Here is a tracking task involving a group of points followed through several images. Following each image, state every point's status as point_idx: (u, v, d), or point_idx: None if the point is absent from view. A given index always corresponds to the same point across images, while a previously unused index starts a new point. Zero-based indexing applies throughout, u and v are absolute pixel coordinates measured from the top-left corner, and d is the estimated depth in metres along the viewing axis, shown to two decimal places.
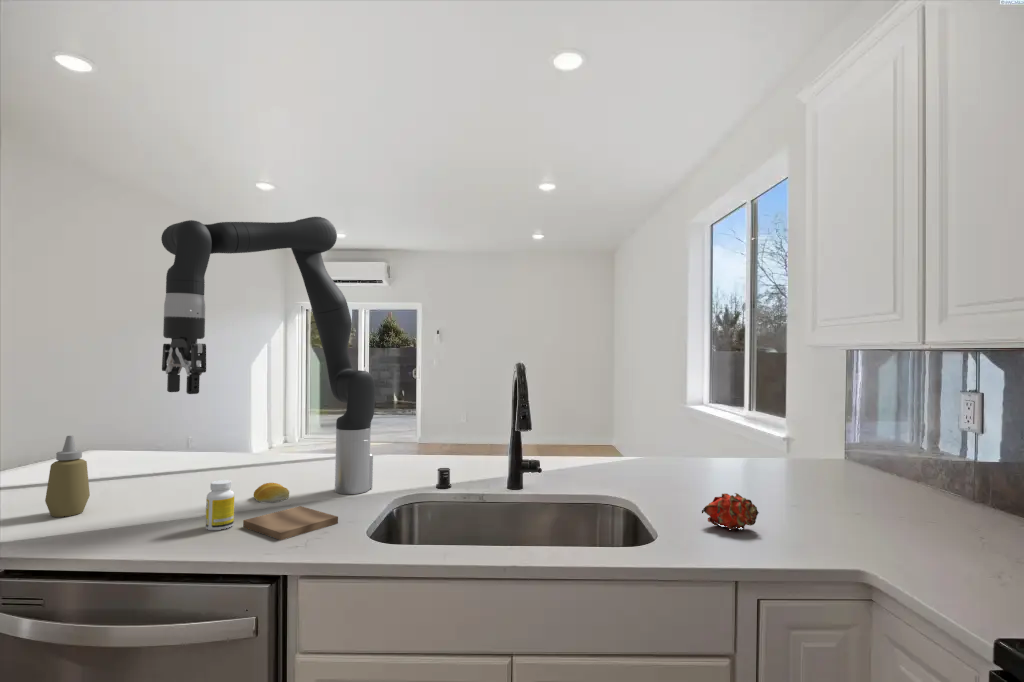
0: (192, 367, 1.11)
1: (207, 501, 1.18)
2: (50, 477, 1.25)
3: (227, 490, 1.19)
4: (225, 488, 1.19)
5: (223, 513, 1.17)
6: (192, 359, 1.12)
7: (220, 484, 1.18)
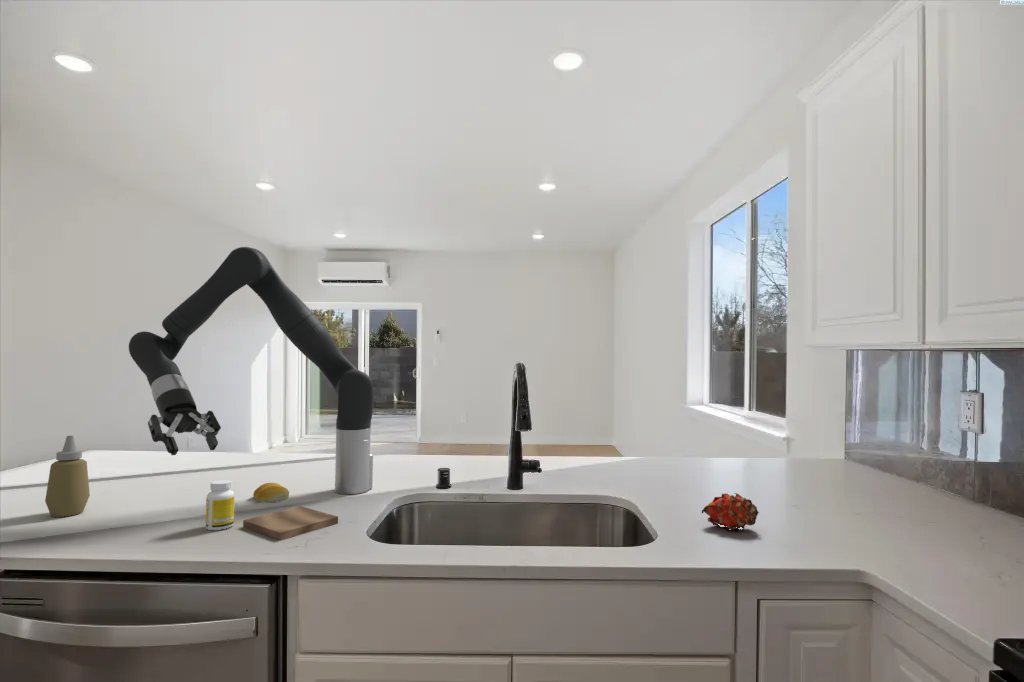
0: None
1: (207, 501, 1.18)
2: (50, 477, 1.25)
3: (227, 490, 1.19)
4: (225, 488, 1.19)
5: (223, 513, 1.17)
6: None
7: (220, 484, 1.18)
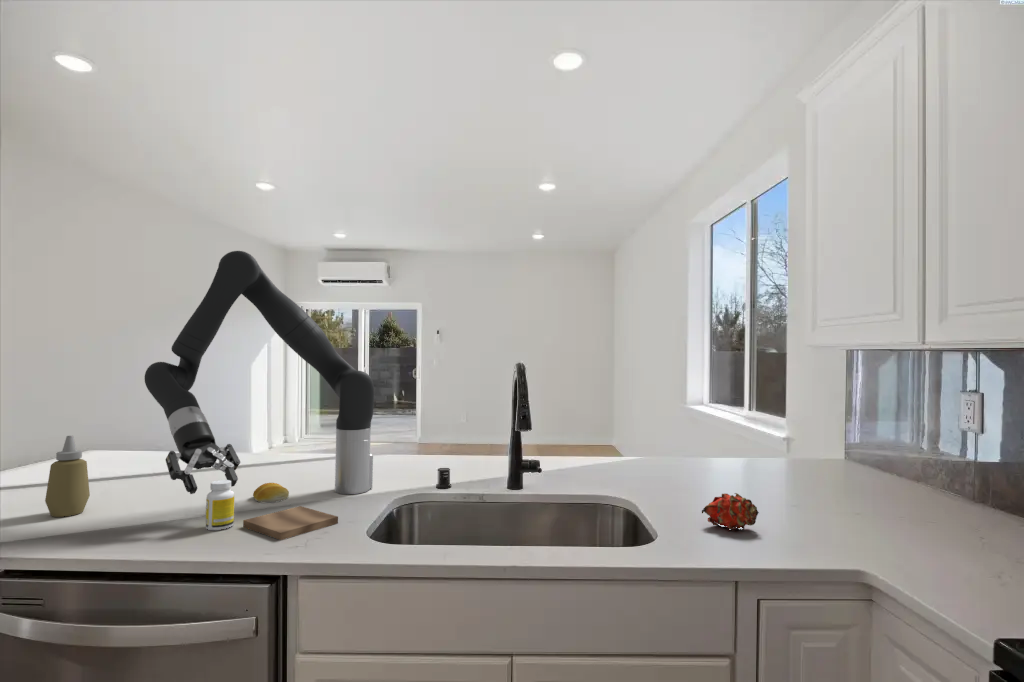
0: None
1: (207, 501, 1.18)
2: (50, 477, 1.25)
3: (227, 490, 1.19)
4: (225, 488, 1.19)
5: (223, 513, 1.17)
6: None
7: (220, 484, 1.18)
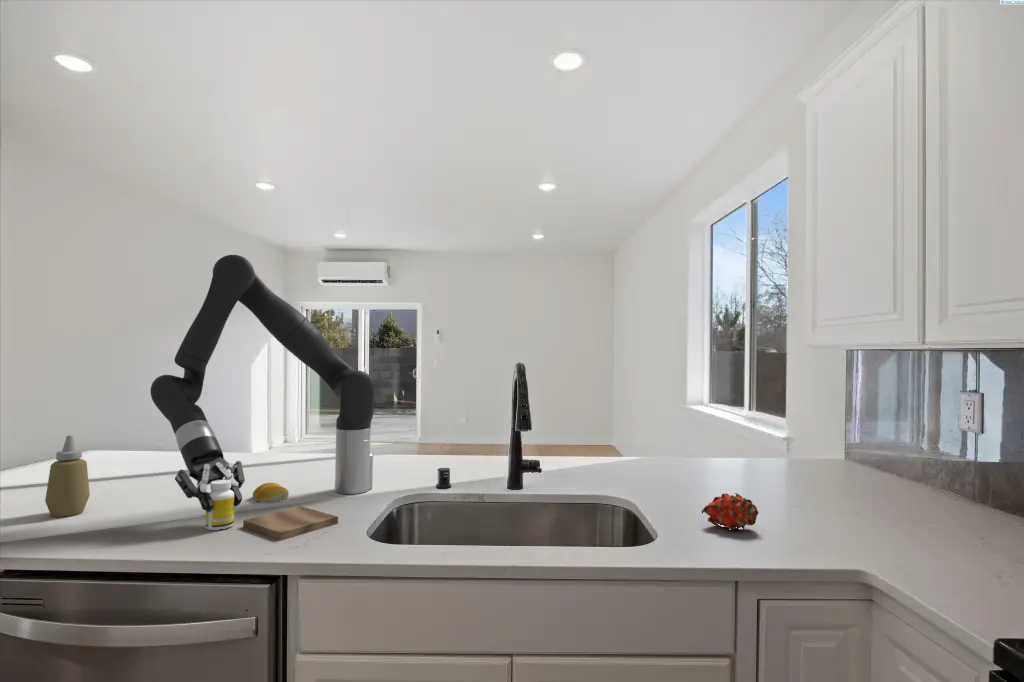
0: None
1: None
2: (50, 477, 1.25)
3: (227, 490, 1.19)
4: (225, 488, 1.19)
5: (223, 513, 1.17)
6: None
7: (220, 484, 1.18)
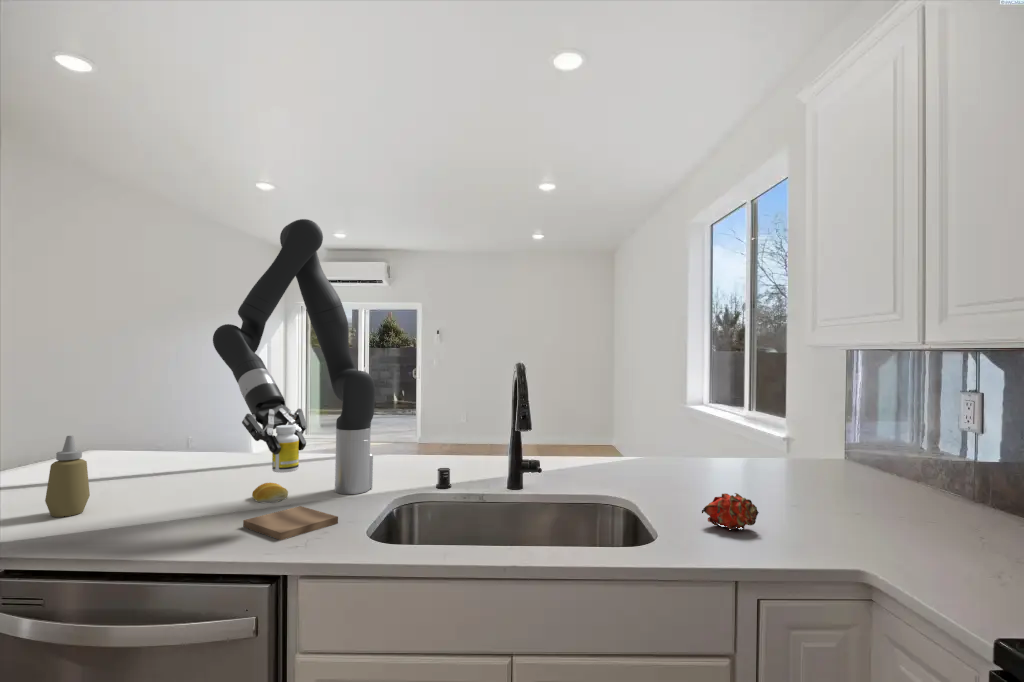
0: None
1: None
2: (50, 477, 1.25)
3: (292, 434, 1.21)
4: (291, 432, 1.21)
5: (289, 456, 1.20)
6: None
7: (286, 428, 1.20)
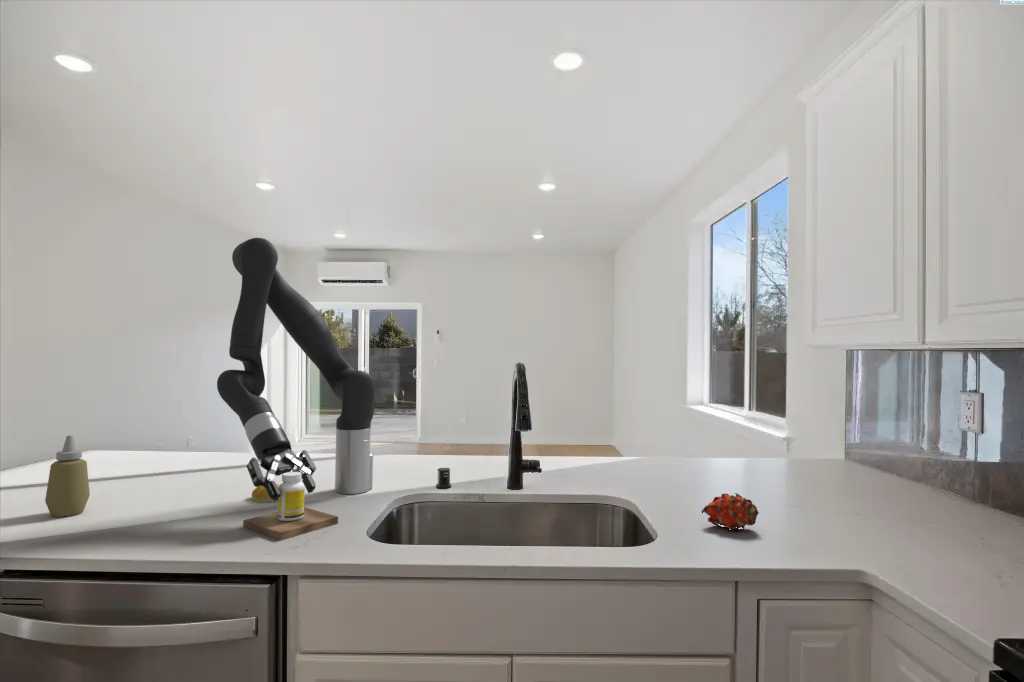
0: None
1: None
2: (50, 477, 1.25)
3: (298, 482, 1.21)
4: (297, 480, 1.21)
5: (295, 504, 1.19)
6: None
7: (292, 476, 1.20)
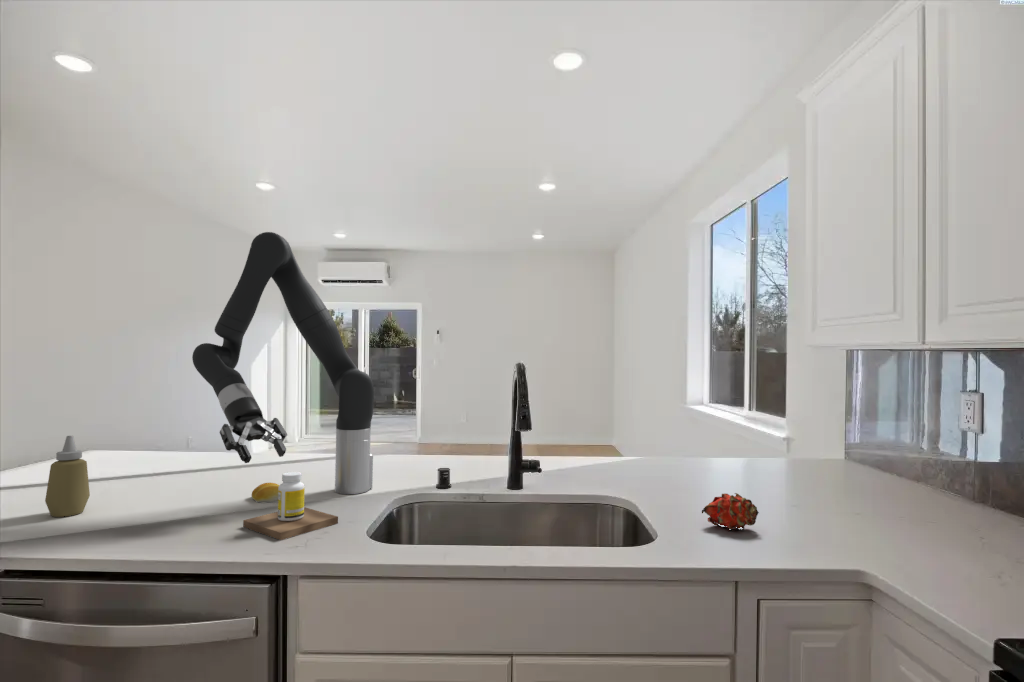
0: None
1: (279, 492, 1.20)
2: (50, 477, 1.25)
3: (298, 482, 1.21)
4: (297, 480, 1.21)
5: (295, 504, 1.19)
6: None
7: (292, 476, 1.20)
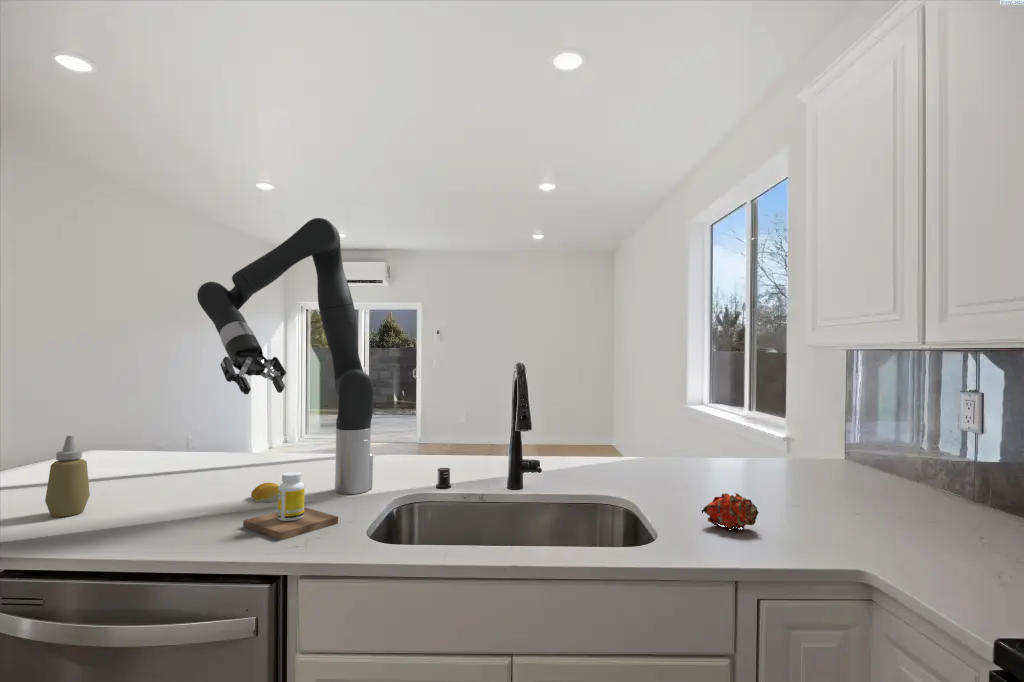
0: None
1: (279, 492, 1.20)
2: (50, 477, 1.25)
3: (298, 482, 1.21)
4: (297, 480, 1.21)
5: (295, 504, 1.19)
6: None
7: (292, 476, 1.20)
